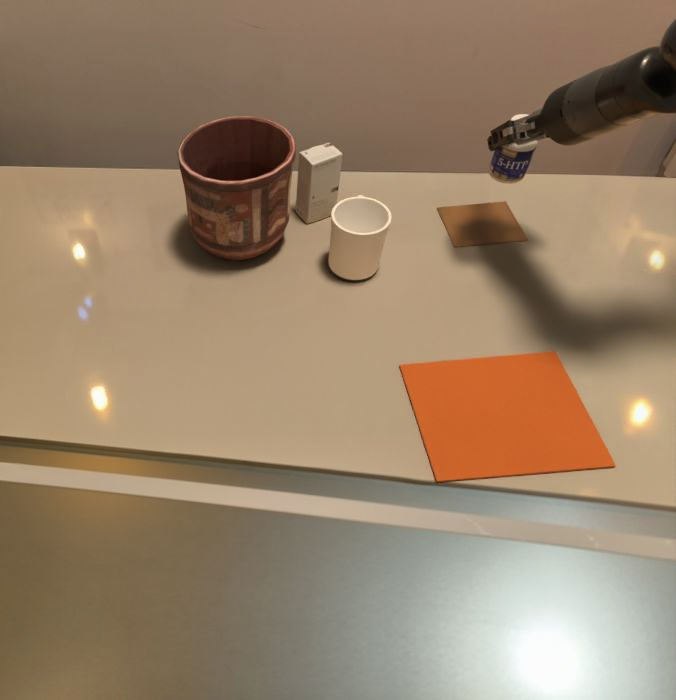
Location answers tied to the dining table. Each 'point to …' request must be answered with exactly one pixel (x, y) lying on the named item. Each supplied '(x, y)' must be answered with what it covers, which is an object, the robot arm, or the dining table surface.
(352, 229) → the mug
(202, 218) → the pottery
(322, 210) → the cosmetic box
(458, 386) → the towel
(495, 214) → the cork pad
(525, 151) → the pill bottle
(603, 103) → the robot arm
